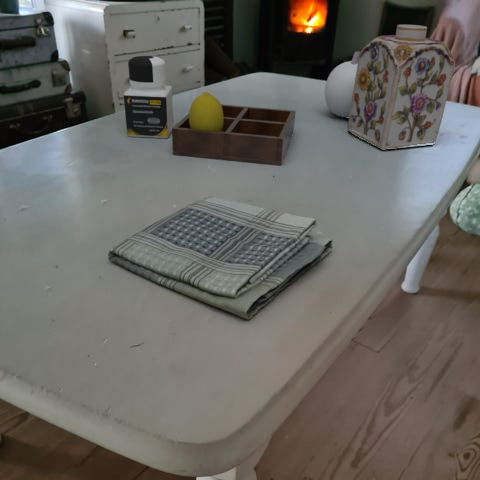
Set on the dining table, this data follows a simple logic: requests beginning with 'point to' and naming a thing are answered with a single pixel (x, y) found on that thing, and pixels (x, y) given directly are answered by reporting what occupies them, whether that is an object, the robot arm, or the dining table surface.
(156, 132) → the medicine bottle
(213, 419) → the dining table surface
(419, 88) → the decorative jar
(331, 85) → the ornament
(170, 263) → the dish towel
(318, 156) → the dining table surface
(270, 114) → the divided wooden tray
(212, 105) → the lemon
